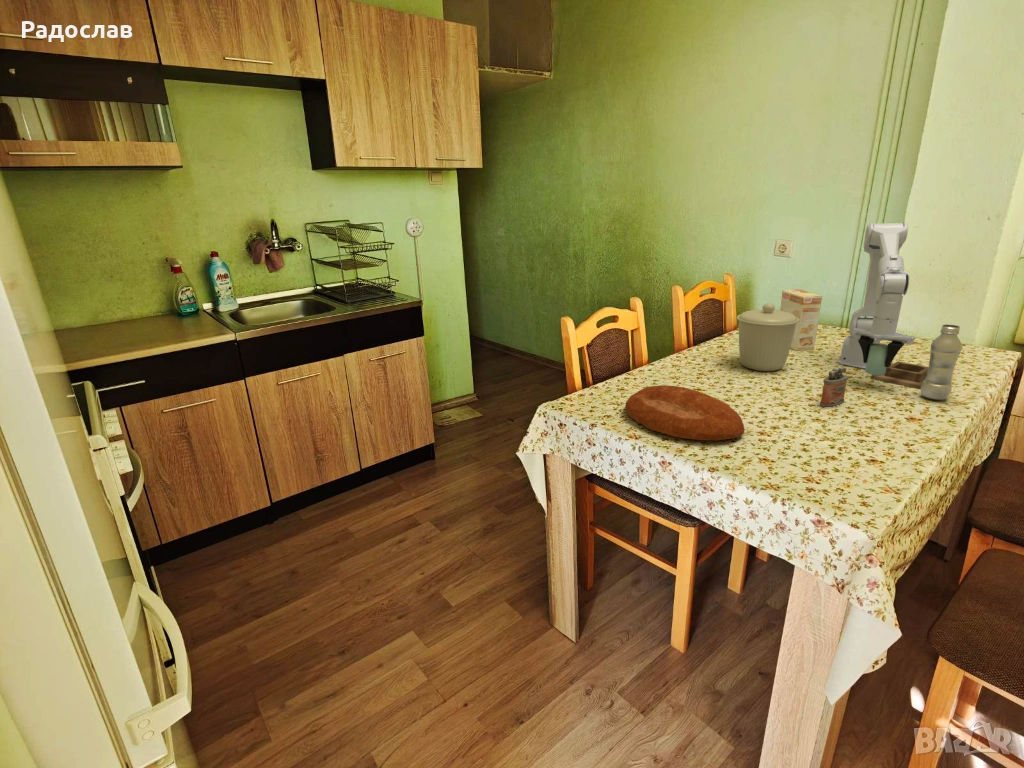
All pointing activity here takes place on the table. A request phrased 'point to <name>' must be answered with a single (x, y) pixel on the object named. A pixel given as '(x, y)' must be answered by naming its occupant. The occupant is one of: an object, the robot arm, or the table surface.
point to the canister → (765, 337)
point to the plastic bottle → (942, 363)
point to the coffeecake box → (802, 316)
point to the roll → (877, 359)
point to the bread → (684, 413)
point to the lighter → (834, 388)
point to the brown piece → (904, 374)
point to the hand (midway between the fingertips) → (876, 364)
